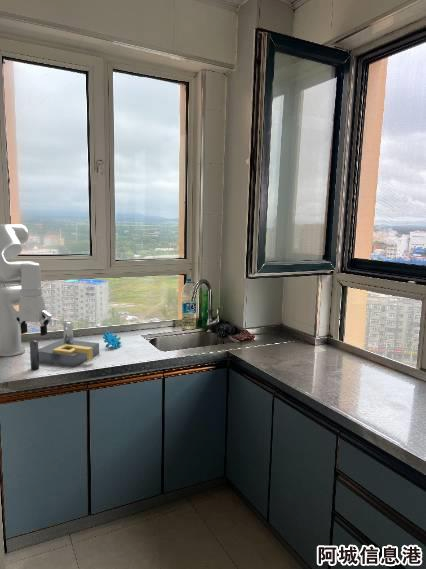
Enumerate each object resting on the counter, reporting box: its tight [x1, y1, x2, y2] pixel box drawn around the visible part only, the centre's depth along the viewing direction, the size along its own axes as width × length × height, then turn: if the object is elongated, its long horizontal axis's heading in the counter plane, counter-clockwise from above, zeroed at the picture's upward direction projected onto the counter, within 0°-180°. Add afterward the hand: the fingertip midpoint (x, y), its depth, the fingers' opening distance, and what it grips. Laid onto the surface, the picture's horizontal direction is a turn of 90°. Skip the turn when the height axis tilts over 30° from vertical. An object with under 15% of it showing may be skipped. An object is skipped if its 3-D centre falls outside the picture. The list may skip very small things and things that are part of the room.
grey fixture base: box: [38, 320, 100, 368], centre depth 193 cm, size 20×20×15 cm
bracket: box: [53, 344, 94, 361], centre depth 188 cm, size 16×9×5 cm, turn 73°
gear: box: [102, 331, 122, 350], centre depth 211 cm, size 11×6×10 cm
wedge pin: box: [29, 339, 40, 371], centre depth 178 cm, size 3×3×12 cm
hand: (34, 334), depth 176 cm, fingers open, 9 cm apart
